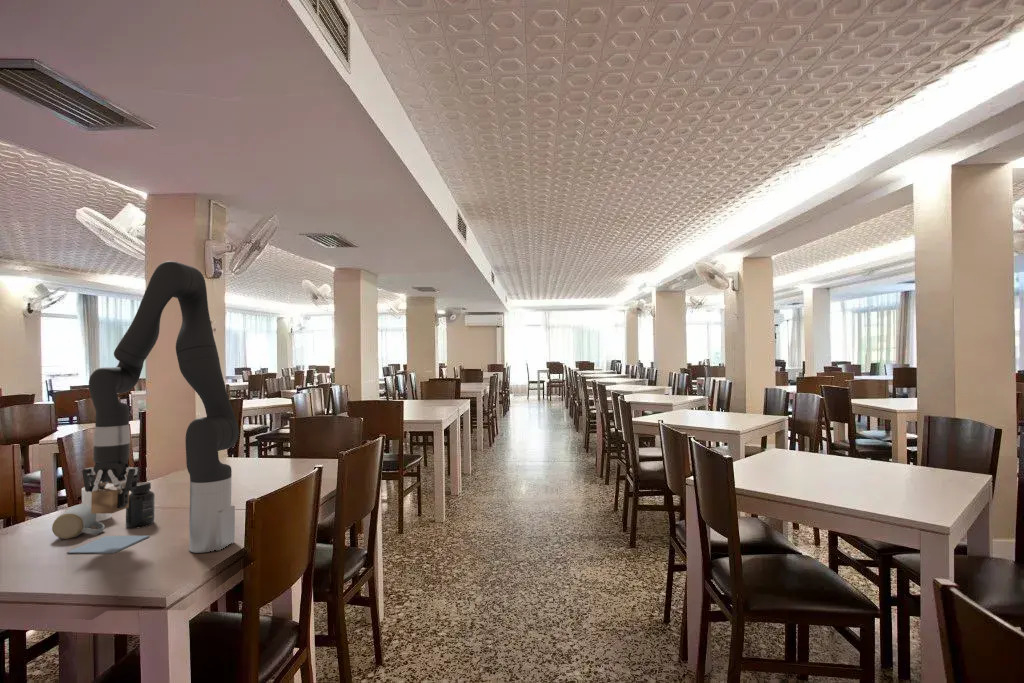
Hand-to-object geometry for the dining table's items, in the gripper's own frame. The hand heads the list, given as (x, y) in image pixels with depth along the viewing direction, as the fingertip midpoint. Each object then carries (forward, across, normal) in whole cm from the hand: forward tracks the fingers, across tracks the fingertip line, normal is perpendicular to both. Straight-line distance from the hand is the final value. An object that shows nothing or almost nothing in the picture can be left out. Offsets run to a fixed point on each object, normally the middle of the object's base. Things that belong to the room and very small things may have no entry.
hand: (110, 507), depth 133 cm
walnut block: (+1, 0, 0) cm, 1 cm away
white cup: (+10, +23, -23) cm, 34 cm away
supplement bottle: (+10, +5, -17) cm, 20 cm away
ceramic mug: (+10, +16, -9) cm, 21 cm away
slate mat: (+10, 0, 0) cm, 10 cm away
